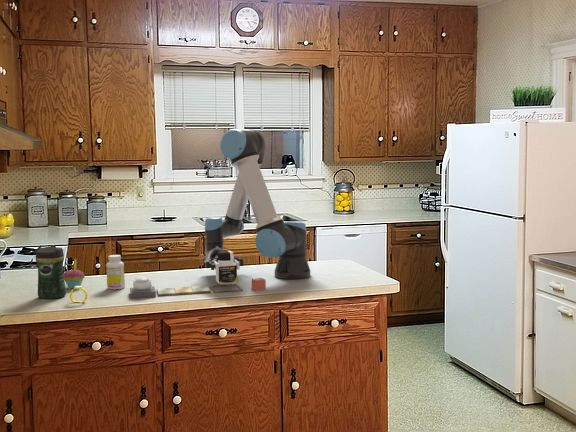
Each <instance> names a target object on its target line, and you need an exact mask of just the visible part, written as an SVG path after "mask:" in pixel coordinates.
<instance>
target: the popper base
mask: <svg viewBox="0 0 576 432" xmlns="http://www.w3.org/2000/svg"><path fill="white" fill-rule="evenodd" d="M129 294H130V295H129V296H130V299H132V300H133V299H143V298H144V299H145V298H156V297H157V290H156V288H155V286H152V288H150V289H145V290H136V289H134V288H133V287H129Z"/></svg>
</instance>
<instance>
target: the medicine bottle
mask: <svg viewBox="0 0 576 432" xmlns="http://www.w3.org/2000/svg"><path fill="white" fill-rule="evenodd" d="M234 257H235V256H234V251H231V250H224V251H220V252H218V262H219V263H218V264H219V271H216V270H215V281H216V282H217V284H218V285H229V284H238V270H237V265H236V264H235V263H234V262H233V261H234Z"/></svg>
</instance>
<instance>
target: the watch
mask: <svg viewBox="0 0 576 432" xmlns="http://www.w3.org/2000/svg"><path fill="white" fill-rule="evenodd" d="M75 290H81V291H83V293H84V296H85V298H84V300H82V301H81V300H79V301H76V300H75V299H74V298H73V292H74V291H75ZM88 296H89V295H88V291H87V290H86V288H84V287H83V286H82V285H81V286H75V287H74V289H71V291H69V299H70V300H71V302H72V303H74V302H80V303H79V304H83V303H85V301H87V299H88Z"/></svg>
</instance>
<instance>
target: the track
mask: <svg viewBox="0 0 576 432" xmlns="http://www.w3.org/2000/svg"><path fill="white" fill-rule="evenodd" d="M211 290H212V289H211V288H209V286H208V285H194V286H193V285H192V286H178V287H177V286H176V287H164V288H160V287H159V288H156V294H157V297H169V296H170V297H171V296H185V295H199V294H211V293H212V291H211Z"/></svg>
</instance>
